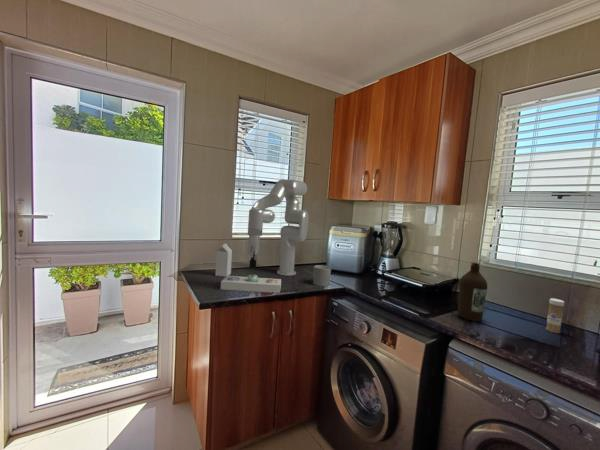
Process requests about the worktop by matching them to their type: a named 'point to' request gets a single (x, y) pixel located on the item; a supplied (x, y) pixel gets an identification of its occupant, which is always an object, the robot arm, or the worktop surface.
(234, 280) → the button two
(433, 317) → the worktop surface
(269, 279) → the button one
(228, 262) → the milk carton
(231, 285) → the button board
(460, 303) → the olive oil
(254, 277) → the button three
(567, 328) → the worktop surface
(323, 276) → the coffee mug
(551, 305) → the sprinkles bottle
